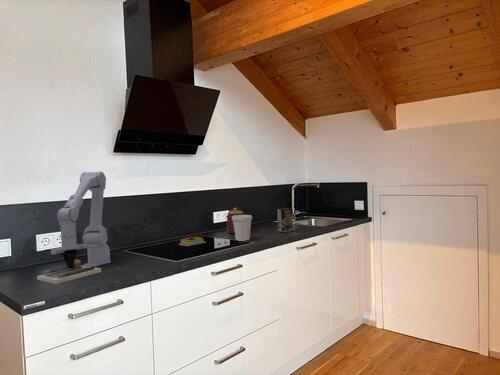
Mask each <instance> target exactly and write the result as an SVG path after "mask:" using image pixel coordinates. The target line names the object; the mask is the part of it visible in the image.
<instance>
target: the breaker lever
mask: <svg viewBox="0 0 500 375" xmlns="http://www.w3.org/2000/svg"><path fill="white" fill-rule="evenodd" d="M81 261H82V260H81V259H76V258H75V260H74V263H73V268H71V270H76V269H80V268H81V265H82V264H81V263H82V262H81Z"/></svg>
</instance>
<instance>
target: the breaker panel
mask: <svg viewBox="0 0 500 375" xmlns="http://www.w3.org/2000/svg"><path fill="white" fill-rule="evenodd" d="M80 265H81V268H80V269H76V270H71V269H70V268H68V266H67V267H66V266H65V267H62V268H61V267H60V268H57V269H53V270H50V269H48V270H43V271H42V274H41V275H37V276H36V280H37V281H40V282H45V283H50V284H54V285H57V284H59V285H60V284H61V283H65V282H70V281H72V280H76V279H80V278H84V277H87V276H91V275H94V274H95V275H96V274H98V273H99V274H100V273H102V268H101V267H97V266H95V267H93V266H87V265H82V264H80Z"/></svg>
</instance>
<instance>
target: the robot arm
mask: <svg viewBox="0 0 500 375" xmlns="http://www.w3.org/2000/svg"><path fill="white" fill-rule="evenodd" d="M106 182H107V177H106V174H105V173H104V172H103V171H93V172H92V171H90V172H89V171H88V172H87V171H83V172H82V173H81V174H80V176H79V184H78V186H77V187H76V188H77V189H76V191H75V193H74V194H71V195H70V196H69V198H68V200H67V201H66V203H65V204H64V206H63V207H62V208H60V209H59V210H58V211H57V214H56V218H57V221H58V225H59V226H60V240H61V242H60V243H61V246H59V247H56V248H51V249H50V254H51V255H57V254H61V256H62V257H63V258H64V260H65V263H66V266H67V267H68V268H70V269H71V268H73V263H74V260H75V259H76V257H77V255H78V253H79V251H78V250H82V249H87V263H84V266H90V267H99V266H102V265H106V264H109V263H112V261H111V256H110V255H111V253H110V252H111V251H110V247H109V245H108V244H107V243H108V232H107V231H108V230H107V228H106V227H104V226H103V225H102V223H103V222H102V221H103V208H104V207H103V206H104V193H105V190H106V185H107V183H106ZM88 191H90V192H91V203H90V213H89V214H90V216H89V225H88V226H87V227H86V228H84V232H83V235H82V242H83V243H77V226H76V222H77V220H78V219H79V214H80V208H81V207H82V205H83V203H84V199H83V198H84V196H85V195H86V194H87V192H88Z"/></svg>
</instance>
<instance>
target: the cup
mask: <svg viewBox="0 0 500 375" xmlns="http://www.w3.org/2000/svg"><path fill="white" fill-rule="evenodd" d="M232 220H233V224H234V231H235V234H234V236H235V241H236V240H238V241H245V240H249V239H250V238H251V225H252V220H253V216H252V214H243V215H236V216H232ZM250 240H251V239H250Z"/></svg>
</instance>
